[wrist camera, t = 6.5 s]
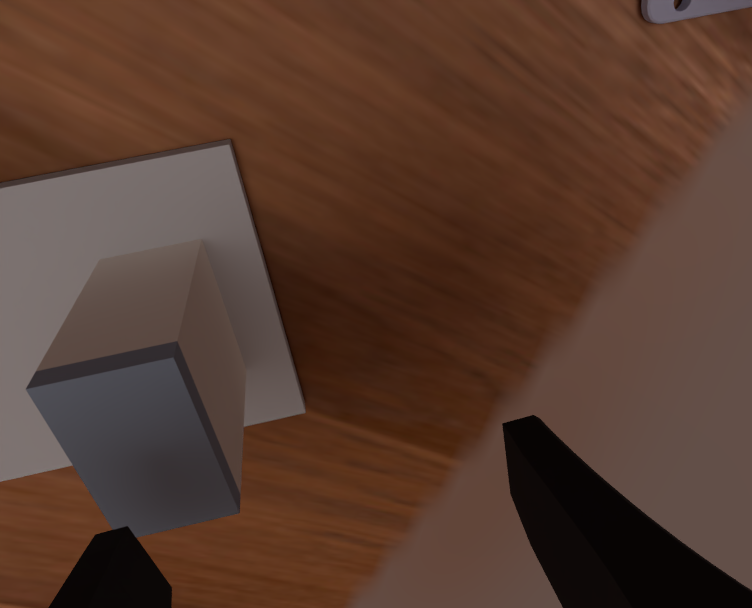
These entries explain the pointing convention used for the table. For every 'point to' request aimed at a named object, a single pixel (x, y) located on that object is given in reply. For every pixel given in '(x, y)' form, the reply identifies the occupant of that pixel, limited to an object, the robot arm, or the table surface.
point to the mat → (118, 237)
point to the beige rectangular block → (149, 391)
